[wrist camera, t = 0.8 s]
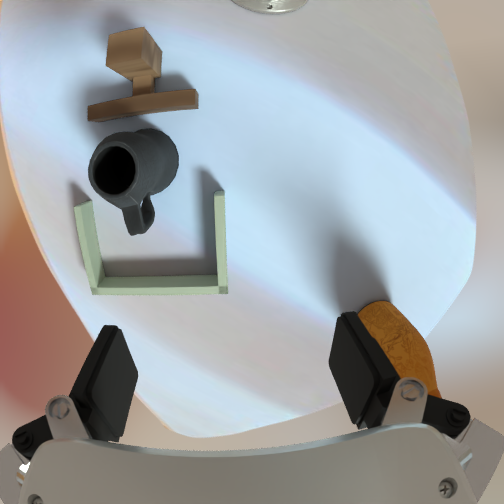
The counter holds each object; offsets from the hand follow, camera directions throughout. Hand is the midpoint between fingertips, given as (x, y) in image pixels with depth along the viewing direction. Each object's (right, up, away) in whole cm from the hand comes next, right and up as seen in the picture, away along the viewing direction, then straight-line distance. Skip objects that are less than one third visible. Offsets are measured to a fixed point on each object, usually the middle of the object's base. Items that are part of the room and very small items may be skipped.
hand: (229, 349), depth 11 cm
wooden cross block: (-13, +26, +17) cm, 34 cm away
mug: (-13, +15, +22) cm, 29 cm away
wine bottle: (+23, -8, +35) cm, 43 cm away
